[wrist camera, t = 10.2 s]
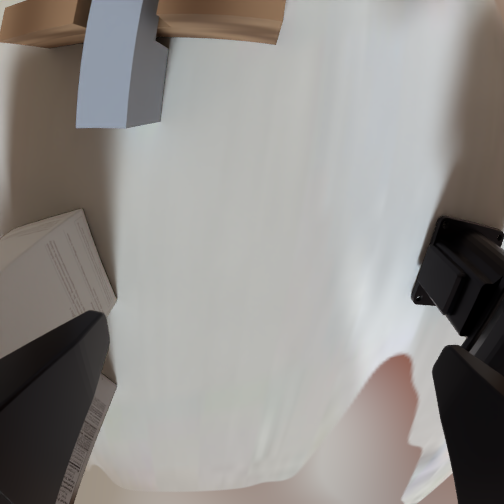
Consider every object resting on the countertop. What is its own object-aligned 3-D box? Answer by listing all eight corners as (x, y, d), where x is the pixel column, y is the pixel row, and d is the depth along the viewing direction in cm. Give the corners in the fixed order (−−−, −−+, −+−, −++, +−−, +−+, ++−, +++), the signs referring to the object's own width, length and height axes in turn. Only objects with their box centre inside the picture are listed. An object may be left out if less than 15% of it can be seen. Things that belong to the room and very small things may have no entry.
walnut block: (280, 12, 14) (288, -20, 9) (275, 44, 14) (282, 21, 10) (53, 20, 13) (5, 7, 9) (48, 48, 14) (-2, 41, 9)
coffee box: (78, 411, 28) (29, 532, 13) (32, 373, 26) (-33, 492, 11) (120, 386, 26) (65, 544, 11) (65, 339, 23) (-21, 494, 9)
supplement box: (12, 226, 19) (-105, 320, 8) (85, 205, 19) (-55, 321, 7) (47, 310, 22) (-35, 423, 11) (120, 303, 22) (42, 450, 10)
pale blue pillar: (191, -62, 11) (171, -103, 7) (160, 121, 16) (126, 128, 12) (150, -59, 11) (121, -95, 7) (119, 120, 16) (75, 128, 12)
